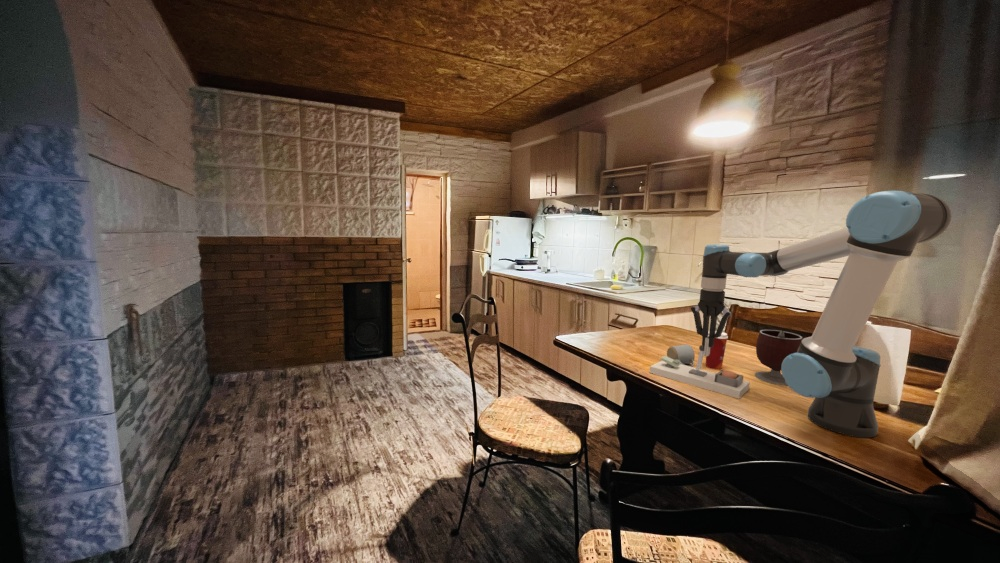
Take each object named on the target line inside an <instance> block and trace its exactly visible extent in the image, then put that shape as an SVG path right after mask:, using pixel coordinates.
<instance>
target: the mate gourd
mask: <svg viewBox="0 0 1000 563" xmlns="http://www.w3.org/2000/svg"><path fill="white" fill-rule="evenodd" d="M802 340H803V336H801V335H800V334H797V333H793V332H789V331H783V330H777V329H760V330H759V333H758V336H757V338H756V344H755V351H756V357H757V359H758V361H759V362H760V363H761V364H762V365H763V366H765V367H767V368H769V369H770V371H756V372H755V373H754V374H755V375H754V376H755V377H756V379H758V380H760V381H762V382H765V383H769V384H771V385H772V384H773V385H777V386H786V387H789V386H788V385H787V383H786V382H785V379H784V377H783V376H782V372H781V366H782V362H783V360H784V359H785V358H786V357H787V356H789V355H790V354H793V353H796V352H797V350H798V348H799V346H800V344H801V341H802Z"/></svg>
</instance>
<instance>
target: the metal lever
mask: <svg viewBox="0 0 1000 563" xmlns="http://www.w3.org/2000/svg"><path fill="white" fill-rule="evenodd" d="M704 349H705V346H702V344H701V345H700V346H699V347H698V350H699V352H698V357H697V361H696V367H695V368H696V370H698V371H700V370H702V369H701V368H702V365H703V361H704Z"/></svg>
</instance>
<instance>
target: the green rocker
mask: <svg viewBox="0 0 1000 563" xmlns="http://www.w3.org/2000/svg"><path fill="white" fill-rule="evenodd" d="M660 361H664V362H666V363H668V364H670V365H672V366H674V367H678V366H679V365H680V361H679V360H677V359H676V360H674V359H671V358H669V357H667V355H664V356H662V357H661V358H660Z"/></svg>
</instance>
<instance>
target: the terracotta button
mask: <svg viewBox="0 0 1000 563" xmlns="http://www.w3.org/2000/svg"><path fill="white" fill-rule="evenodd" d="M737 374H738V373H736V372H734V371H730V370H723V371H722V376H725V377H729V378H733V379H736V378H737Z"/></svg>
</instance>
